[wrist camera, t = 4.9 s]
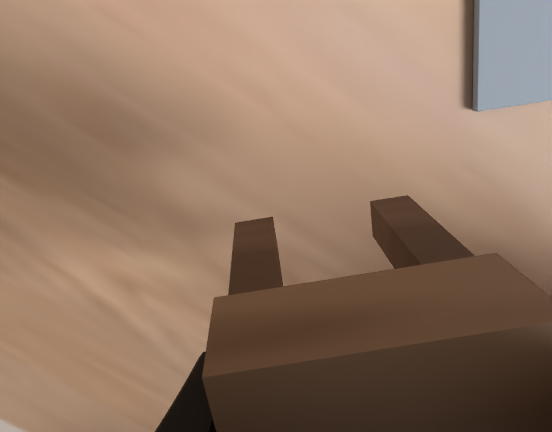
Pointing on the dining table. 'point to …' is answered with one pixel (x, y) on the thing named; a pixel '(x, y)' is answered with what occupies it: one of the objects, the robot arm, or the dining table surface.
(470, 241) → the dining table surface
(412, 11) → the dining table surface
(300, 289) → the walnut stool
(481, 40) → the felt mat
